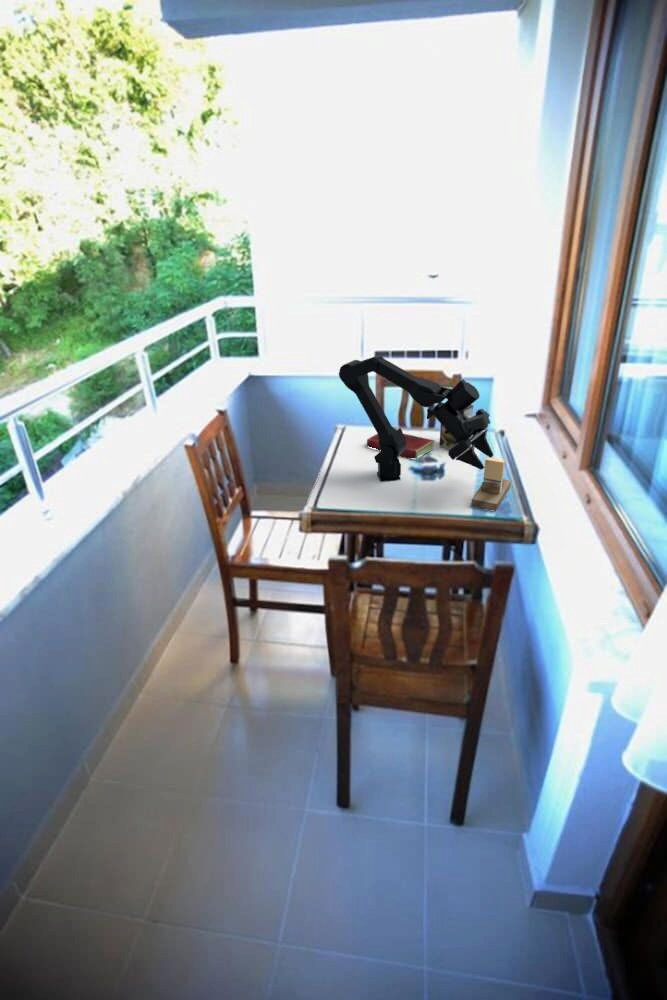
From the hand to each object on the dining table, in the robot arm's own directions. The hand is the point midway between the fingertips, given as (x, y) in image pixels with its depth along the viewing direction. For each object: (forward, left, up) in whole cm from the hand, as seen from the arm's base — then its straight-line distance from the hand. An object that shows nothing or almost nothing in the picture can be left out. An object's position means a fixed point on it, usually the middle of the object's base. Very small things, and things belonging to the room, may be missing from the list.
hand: (487, 462), depth 142 cm
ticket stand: (+2, -1, -11) cm, 11 cm away
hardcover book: (-15, +41, -11) cm, 45 cm away
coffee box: (+4, +37, -11) cm, 39 cm away
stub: (+2, -1, -5) cm, 5 cm away
